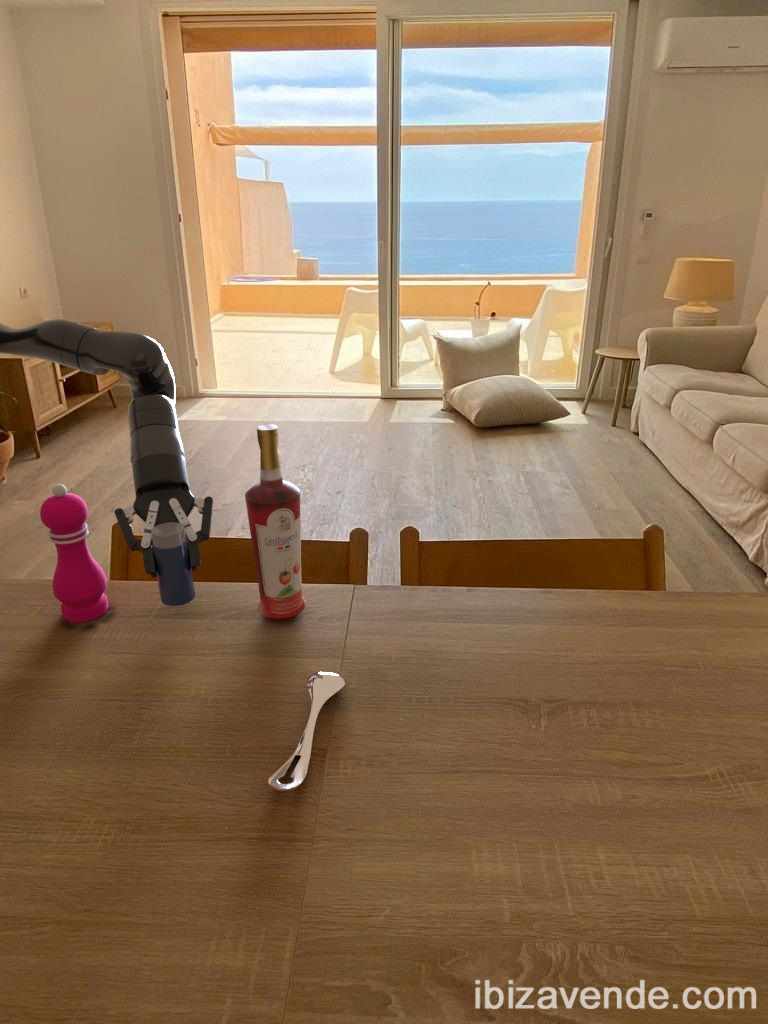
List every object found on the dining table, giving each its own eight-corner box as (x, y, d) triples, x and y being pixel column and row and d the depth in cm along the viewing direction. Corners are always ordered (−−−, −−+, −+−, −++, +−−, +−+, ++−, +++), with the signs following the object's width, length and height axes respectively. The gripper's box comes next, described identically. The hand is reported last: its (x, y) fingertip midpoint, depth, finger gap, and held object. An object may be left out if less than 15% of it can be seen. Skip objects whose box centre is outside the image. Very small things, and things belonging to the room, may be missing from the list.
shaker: (156, 606, 98) (144, 536, 94) (167, 588, 103) (156, 521, 98) (189, 606, 98) (179, 536, 93) (199, 588, 102) (189, 521, 98)
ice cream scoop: (301, 776, 67) (254, 769, 68) (302, 805, 68) (256, 798, 69) (351, 662, 85) (314, 658, 86) (351, 687, 86) (315, 683, 87)
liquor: (299, 595, 105) (286, 416, 93) (314, 619, 99) (303, 431, 87) (251, 606, 102) (232, 423, 91) (264, 631, 96) (245, 439, 85)
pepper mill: (117, 614, 101) (92, 486, 93) (65, 630, 97) (34, 499, 89) (105, 593, 106) (80, 471, 98) (54, 608, 103) (24, 482, 94)
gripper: (209, 468, 107) (226, 572, 102) (111, 479, 103) (123, 588, 98) (208, 446, 101) (226, 556, 95) (103, 457, 97) (115, 573, 91)
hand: (173, 572), depth 97 cm, fingers closed on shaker, 4 cm apart
